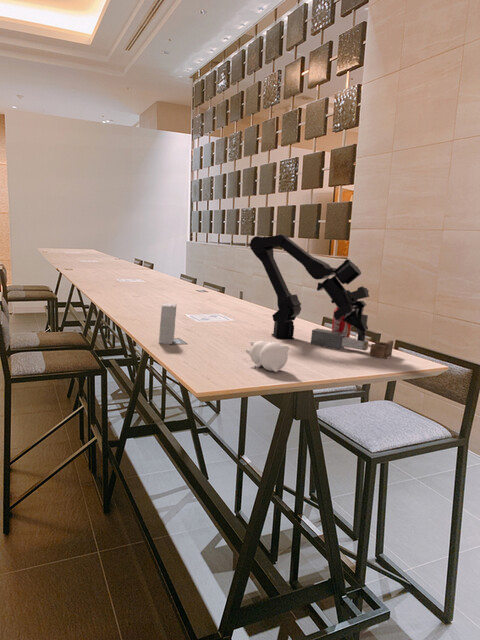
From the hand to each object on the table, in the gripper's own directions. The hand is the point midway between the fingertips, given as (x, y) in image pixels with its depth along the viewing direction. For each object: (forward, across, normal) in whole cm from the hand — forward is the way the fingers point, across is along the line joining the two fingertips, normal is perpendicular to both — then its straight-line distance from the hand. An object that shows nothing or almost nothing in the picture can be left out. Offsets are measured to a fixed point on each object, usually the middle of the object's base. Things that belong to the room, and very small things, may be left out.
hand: (365, 330), depth 159 cm
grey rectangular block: (-3, 0, +14) cm, 15 cm away
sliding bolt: (-1, 0, +10) cm, 10 cm away
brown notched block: (+10, 0, +1) cm, 10 cm away
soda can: (-4, +18, +15) cm, 24 cm away
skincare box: (-32, -39, +43) cm, 66 cm away
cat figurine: (-4, -42, +16) cm, 45 cm away
